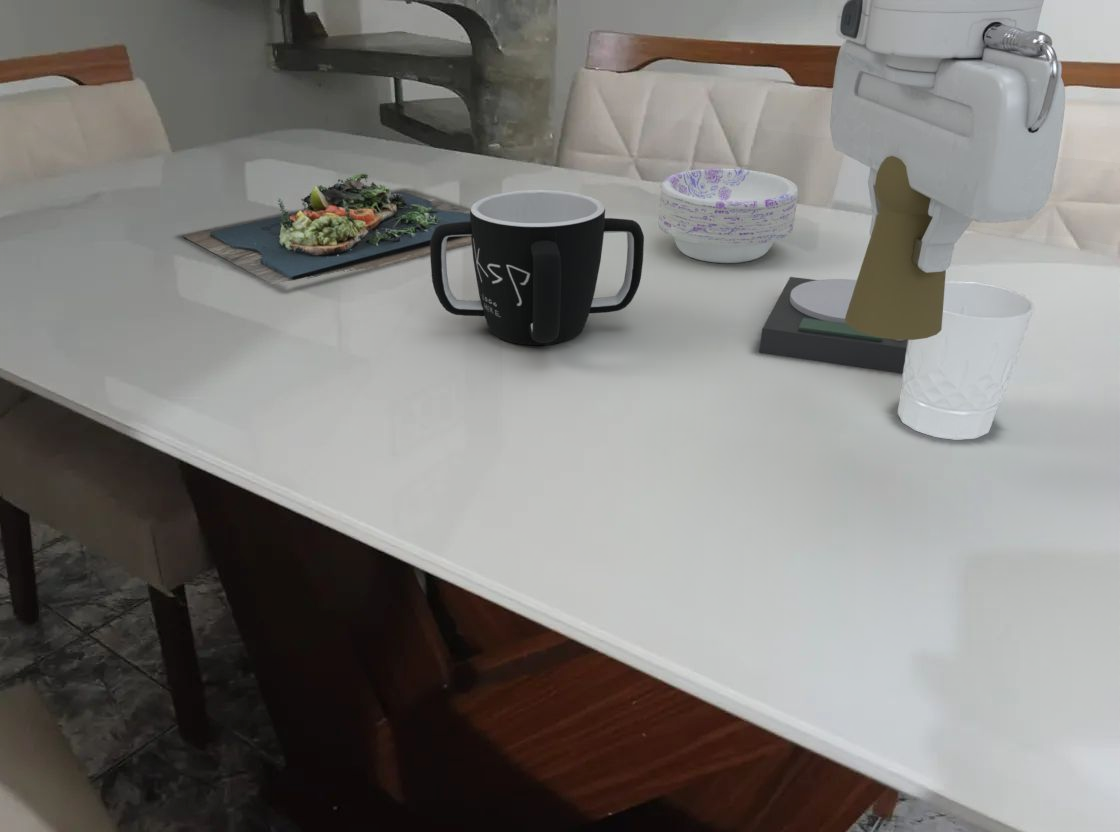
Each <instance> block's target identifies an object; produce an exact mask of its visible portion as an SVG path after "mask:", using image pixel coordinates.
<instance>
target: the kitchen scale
mask: <svg viewBox="0 0 1120 832" xmlns="http://www.w3.org/2000/svg"><path fill="white" fill-rule="evenodd" d="M856 282H857V279H848V278H825V279H813V278H805V277H804V278H803V277H794V276H790V277H789V278H788V280H787V282H786V283H785V286H784V287H783V290H782V291H781V293H780V295H779V297H778V299H777V300H776V302H775V304H774V306H773V308H772V310H771V311H770V314H769V315H768V317H767V319H766V321H765V323H764V324H763V327H762V328H761V335H760V343H759V350H758V351H759V353H760V354H765V355H773V356H779V357H786V358H792V359H799V360H800V359H801V360H807V361H814V362H821V363H827V364H835V365H841V366H849V367H854V368H861V369H869V370H876V371H883V372H890V373H895V374H902V375H903V369H904V364H905V354H906V348H907V342H908V340H895V339H886V338H880V337H876V336H871V335H867V334H865V333H862V332H859V331H857V330H855V329H853V328H852V327H850V326H849V325H848V324H847V323H846V321H845V317H846V313H847V310H848V307H849V304H850V301H851V298H852V294H853V291H854V288H855V285H856Z"/></svg>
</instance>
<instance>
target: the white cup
mask: <svg viewBox="0 0 1120 832" xmlns="http://www.w3.org/2000/svg"><path fill="white" fill-rule="evenodd" d="M1034 311H1035V303H1034V302H1033V301H1032V300H1031V299H1030V297H1028V296H1026V295H1024V294H1022V293H1020V292H1018V291H1016V290H1013V289H1010V288H1007V287H1003V286H1000V285H995V284H990V283H984V282H979V281H978V282H977V281H969V280H967V281H966V280H965V281H964V280H945V289H944V302H943V315H942V328H941V331H940V332H939V333H938V334H937V335H934V336H931V337H928V338H924V339H916V340H908V342H907V348H906V354H905V364H904V369H903V374H902V386H901V391H900V396H899V402H898V408H897V415H898V417H899V418H900V419H899V420H901V422H902V423H903V424H904V425H906V426H907V427H909V428H910V429H912V430H914V431H915V432H918V433H921V434H924V435H927V436H930V437H934V438H937V439H944V440H954V441H962V440H974V439H978V438H980V437H983V436H985V435H987V434H989V432H990V430H991V428H992V425H993V422H994V419H995V416H996V414H997V409H998V408H999V405H1000V402H1001V401H1002V400H1003V399H1004V396H1005V393H1006V390H1007V387H1008V385H1009V383H1010V380H1011V377H1012V373H1013V370H1014V368H1015V366H1016V364H1017V362H1018V361H1017V360H1018V357H1019V355H1020V352H1021V349H1022V345H1023V342H1024V339H1025V337H1026V333H1027V331H1028V328H1029V325H1030V323H1031V320H1032V317H1033V313H1034Z"/></svg>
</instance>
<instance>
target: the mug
mask: <svg viewBox="0 0 1120 832" xmlns="http://www.w3.org/2000/svg"><path fill="white" fill-rule="evenodd" d="M469 210H470V221H468V222H457V223H449V224H443V225H440V226H438V227H437V228H436V229H435V230H434V232H433V235H432V237H431V241H430V255H429V256H430V272H431V282H432V286H433V290H434V292H435V295H436V297H437V299H438V301H439V303H440V304H441V306H442V307H443V308H444V309H445V311H447V312H448V313H450V314H452V315H454V316H463V317H464V316H465V317H484V319H485V321H486V324H487V328H488V329H489V330H490V332H491V333H492V334H493V335H494V336H496V337H498V338H499V339H501V340H504V341H506V342H510V343H514V344H516V345H517V344H518V345H525V346H527V345H528V346H546V345H553V344H554V345H555V344H560V343H563V342H566V341H569V340H572V339H573V338H574V337H576V336H578V335H580V334H581V333H582V332H583V330H584V328H585V326H586V324H587V321H588V318H589V315H590V314H604V313H613V312H614V313H615V312H618V311H621V310H623V309H626V307H628V305H629V304H630V303H631V302H632V301H633V299H634V297H635V296H636V294H637V292H638V290H639V288H640V287H639V286H640V284H641V279H642V275H643V274H642V271H643V264H644V250H645V249H644V247H645V246H644V245H645V235H644V232H643V229H642V227H641V225H640V223H638V222H637V221H635V220H634V219H627V218H616V217H615V218H613V217H606V208H605V205H604V204H603V203H602V202H601V201H600V200H597V199H596V198H594V197H591V196H589V195H585V194H583V193H576V192H571V191H567V190H566V191H565V190H554V189H553V190H552V189H526V190H525V189H523V190H512V191H507V192H501V193H496V194H492V195H489V196H486V197H484V198H480V199H478V200H477V201H476V202H475V203H473V204H472V205H471V207H470V209H469ZM607 233H608V234H609V233H611V234H612V233H613V234H614V233H626V241H627V250H626V265H625V272H624V280H623V282H622V285H621V287H620V289H619V291H618V292H617V294H615V295H611V296H606V297H605V296H603V297H595V291H596V288H597V282H598V277H599V272H600V266H601V262H602V253H603V245H604V237H605V236H604V235H605V234H607ZM452 236H471V241H472V244H471V251H472V260H473V261H472V262H473V267H474V272H475V273H474V274H475V277H476V284H477V290H478V295H479V300H462V299H457V298H456V296H455V295H454V294H453V293H452V290H451V288H450V283H449V277H448V266H447V250H446V245H447V238H448V237H452Z"/></svg>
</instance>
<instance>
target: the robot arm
mask: <svg viewBox="0 0 1120 832" xmlns="http://www.w3.org/2000/svg"><path fill="white" fill-rule="evenodd" d="M841 1H842V2H840V4H839V6H838V9H837V15H836V16H837V17H836V24H835V32H836V35H837V36H838V38H840V39H843V40H845V41H843V43H842V44H841V46H840V47H839V50H838V54H837V57H836V63H835V69H834V76H833V85H832V94H831V104H830V105H831V106H830V116H829V130H830V136H831V137H830V138H831V142H832V146H833V148H834V150H836V151H837V152H839V153H841V154H843V155H845V156H847V157H849V158H851V159H853V160H855V161H857V162H858V163H861V164H863V165H865V166H867V167H869V175H868V179H867V186H868V192H869V200H870V207H871V212H872V216H871V223H870V229H869V237H871V234H872V231H873V228H874V225H875V222H876V219H877V216H878V212H879V209H880V206H881V204H880V202H879V201H878V199H877V197H876V192H875V182H876V175H877V172H878V170H879V167H880V165H881V163H882V162H883V161H884V160H885V158H886V157H890V156H894V157H897V158H899V159H900V160H902V162H903V163H904V164H905V166H906V169H907V176H908V180H909V184H910V187H911V188H912V189H913V190H915V191H917V192H919V193H921V194H923V195H925V196H927V197H929V198H931V199H930V205H929V210H928V215H929V216H931V217H932V220H931V222H930V224H929V226H928V228H927V230H926V232H925V234H924V236H923V237H918V238H915V240H914V245H913V254H912V256H911V261H912V263H913V264H914V265H915V266H917V267H918V268H920V269H921V270H923V271H924V272H926V273H928V272H942V271H945V270H946V271H947V270H948V269H949V267H950V265H951V263H952V258H953V254H954V250H955V244H957V243H958V241H959V240H960V238H961V237H962V236H963V234H964V233H965V231H967V229H968V228H969V226H970V225H971V223H972V222H973V221H974V222H976V223H980V224H995V223H1009V222H1010V223H1011V222H1022V221H1030V220H1032V219H1033V218H1035V217H1036V216H1037V215H1038V214H1039V212H1040V211H1041V210H1042V209H1043V208H1044V207H1045V206H1046V205H1047V203H1048V200H1049V198H1050V196H1051V192H1052V188H1053V182H1054V178H1055V174H1056V168H1057V167H1056V166H1057V162H1058V157H1059V152H1060V145H1061V140H1062V134H1063V133H1062V132H1063V125H1064V117H1065V109H1066V91H1065V90H1066V89H1065V84H1064V80H1063V79H1062V72H1063V69H1062V68H1063V66H1062V62H1061V61H1060V60H1058V56H1057V53H1056V51H1055V48H1054V47H1053V39H1052V37H1050V36H1049V35H1048V34H1046V33H1045V32H1042V31H1039V30H1038V27H1039V21H1040V17H1041V13H1042V9H1043V5H1044V1H1045V0H841ZM1042 56H1045V57H1042Z"/></svg>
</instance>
